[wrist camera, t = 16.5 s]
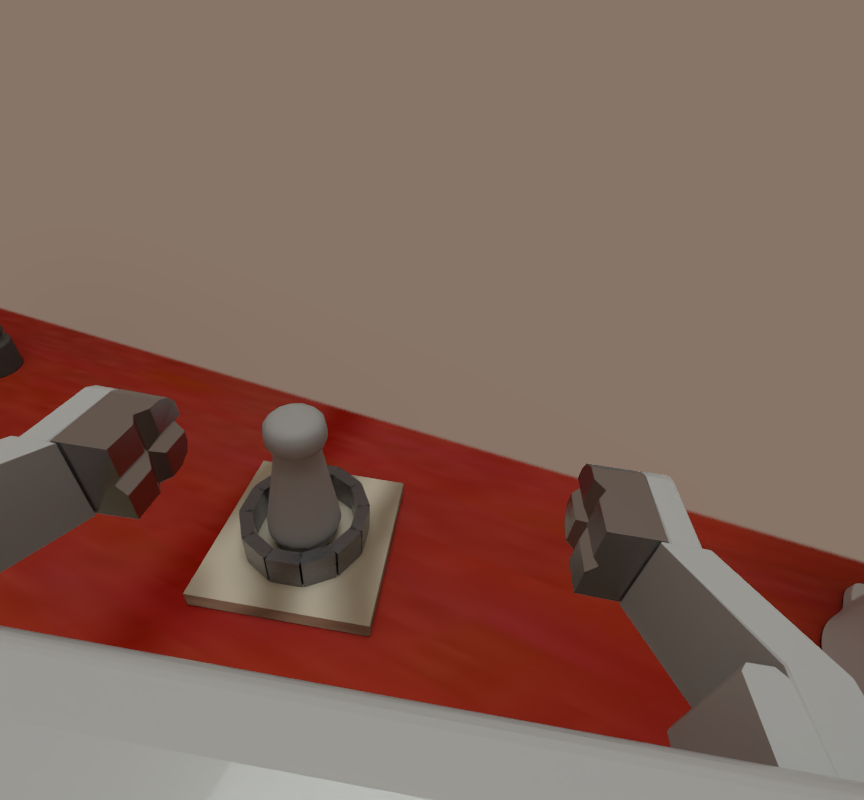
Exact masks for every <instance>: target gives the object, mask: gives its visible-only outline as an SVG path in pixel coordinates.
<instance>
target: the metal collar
mask: <svg viewBox="0 0 864 800" xmlns="http://www.w3.org/2000/svg"><path fill="white" fill-rule="evenodd" d="M327 468H328V471H329V474H330V477H331V480H332V484H333V487H334V490H335V493H336V497H337V499H338V500H339V501H340V502H342V503H343V504H344V505H346V506H347V507H349V508H350V509H351V510H352V513H353V516H354V518H353V521H352V524H351V527H350V528H349V529H348V530H347V531H345V532H344V533H343V534H342V535H341V536H340V537H339V538H337V539H336V540H335V541H334V542H333V543H332V544H330V545H327V546H324V547H320V548H317V549H313V550H310V551H306V552H303V553H299V552H293V551H287V550H281V549H275V548H272V547H271V546H270V545H269V544H268V543H267V542H266V541H265V540H264V539H262V538H261V537H260V536H259V535H258V532H259V530H260V528H261V526H262V524H263V523H264V521H265V519H266V517H267V512H268V502H269V492H270V481H271V475H270V476H269V477H267V478H266V479H264V480H263V481H261V482H259V483H258V484H256V485H255V487H253V488H252V490H251V492H250V493H249V495H248V497H247V498H246V500H245V502H244V503H243V505H242V507H241V508H240V510H239V511H240V512H239V519H240V529H241V538H242V542H243V545H244V549H245V553H246V557H247V561H248V562H249V563H250V564H251V565H252V566H253V567H254V568H255V569H256V570H257V571H258V572H259V573H260V574H261V575H262V576H263V577H264V578H265V579H267V580H268V581H269V580H270V582H273V583H278V584H284V585H290V586H296V587H301V588H302V586H303V584H304V587H307V586H310V585H314V584H317V583H320V582H323V581H327V580H330V579H333V578H336V577H337V575H338V576H340V575H341V574H342V573H343V572H344V571H345V570H346V569H347V568H348V567H349V566H350V565H351V564H352V563H353V562H354V561H355V560H356V559H358V558H359V557H360V556H361V553H363V549H364V546H365V542H366V539H367V535H368V532H369V524H370V504H369V501H368V499H367V496H366V493H365V491H364V488H363V485H362V483H361V482H360V481H359V480H357V479H356V478H354V477H353V476H352V475H350V474H349V473H347V472H346V471H344V470H343V469H342V468H340V469H339V467H335V466H329V465H327Z"/></svg>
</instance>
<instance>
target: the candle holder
mask: <svg viewBox="0 0 864 800" xmlns="http://www.w3.org/2000/svg"><path fill="white" fill-rule="evenodd" d="M2 331H3V327H2V326H1V325H0V378H1V377H4V376H7V375H9V374H11V373H13V372H15V371H16V370H18V369H19V368H20V367H21V366H22V363H23V359H22V357H21V355H20V354H19V352H18V350H17V348H16V346H15V344H14V342H13V341H12V339H11V337H10V336H9V335H8V334H7V333H4V332H2Z"/></svg>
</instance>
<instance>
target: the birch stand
mask: <svg viewBox="0 0 864 800" xmlns="http://www.w3.org/2000/svg"><path fill="white" fill-rule="evenodd" d="M271 471H272V462H268V461H263V463H262V465H261V466H260V468H259V470H258V471H257V473H256V475H255V476H254V478H253V479H252V481H251V483H250V484H249V486H248V488H247V489H246V491H245V493H244V494H243V496H242V498H241V499H240V501H239V502H238V504H237V506H236V507H235V509H234V511H233V512H232V514H231V516H230V517H229V519H228V521H227V522H226V524H225V525H224V527H223V529H222V530H221V532H220V534H219V535H218V537H217V539H216V540H215V542H214V544H213V545H212V547H211V548H210V550H209V552H208V553H207V555H206V557H205V558H204V560H203V562H202V563H201V565H200V567H199V568H198V570H197V572H196V573H195V575H194V576H193V578H192V580H191V581H190V583H189V585H188V586H187V588H186V590H185V591H184V593H183V595H184V597H185V599H186V602H187V604H189V605H194V606H200V607H206V608H211V609H217V610H223V611H228V612H234V613H240V614H245V615H251V616H257V617H262V618H268V619H273V620H279V621H285V622H290V623H296V624H302V625H307V626H313V627H319V628H324V629H330V630H336V631H341V632H347V633H353V634H358V635H364V636H370V632H371V627H372V623H373V619H374V614H375V610H376V606H377V602H378V597H379V593H380V589H381V584H382V580H383V576H384V572H385V567H386V563H387V559H388V554H389V550H390V546H391V541H392V537H393V533H394V529H395V524H396V520H397V516H398V511H399V507H400V503H401V499H402V494H403V483H397V482H391V481H385V480H379V479H373V478H367V477H360V476H354V475H352V476H353V477H354V478H356V479H357V480H359V481H360V482H361V483H362V485H363V488H364V491H365V493H366V496H367V499H368V501H369V504H370V524H369V532H368V535H367V539H366V542H365V546H364V549H363V553H361V556H360V557H359V558H358V559H356V560H355V561H354V562H353V563H352V564H351V565H350V566H349V567H348V568H347V569H346V570H345V571H344V572H343V573H342V574H341V575H340V576H338V575H337V577H336V578H333V579H330V580H327V581H323V582H320V583H317V584H314V585H310V586H307V587H304V584H303V586H302V588H301V587H296V586H290V585H284V584H278V583H273V582H270V580H269V581H268V580H267V579H265V578H264V577H263V576H262V575H261V574H260V573H259V572H258V571H257V570H256V569H255V568H254V567H253V566H252V565H251V564H250V563H249V562H248V561H247V557H246V553H245V549H244V545H243V542H242V538H241V529H240V519H239V512H240V511H239V510H240V508H241V507H242V505H243V503H244V502H245V500H246V498H247V497H248V495H249V493H250V492H251V490H252V488H253V487H255V485H256V484H258V483H259V482H261V481H263V480H264V479H266V478H267V477H269V476H270V475H271ZM337 500H338V499H337ZM338 503H339V507H340V511H341V519H340V523H339V526H338V529H337V532H336V533H335V535H334V536H333V538H332V540H331V541H330V543H328V544H327V545H330V544H332V543H333V542H334V541H335V540H336V539H337V538H339V537H340V536H341V535H342V534H343V533H344V532H345V531H347V530H348V529H349V528H350V527H351V524H352V521H353V518H354V516H353V513H352V510H351V509H350V508H349V507H347V506H346V505H344V504H343V503H342V502H340V501H339V500H338ZM258 535H259V536H260V537H261V538H262V539H264V540H265V541H266V542H267V543H268V544H269V545H270V546H271V547H272V548H275V549H281V550H285V549H284V548H282V547H281V546H279V545H278V543H277V542H276V541H275V540H274V538H273V537H272V536H271V535H270V533H269V530H268V523H267V517H266V519H265V521H264V523H263V524H262V526H261V528H260V530H259V532H258ZM327 545H325V546H327Z"/></svg>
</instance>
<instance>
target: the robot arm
mask: <svg viewBox="0 0 864 800" xmlns="http://www.w3.org/2000/svg"><path fill="white" fill-rule="evenodd" d="M178 416H179V412H178V409H177V407H176V404H175V401H173V400H171V399H169V398H166V397H161V396H155V395H150V394H144V393H139V392H133V391H128V390H122V389H114V388H108V387H103V386H98V385H94V386H90V387H85V388H84V389H83V390H81V391H80V392H79V393H77V394H76V395H75V396H73V397H72V398H71V399H69V400H68V401H67V402H65V403H64V404H63V405H61V406H60V407H59V408H57V409H56V410H55V411H53V412H52V413H51V414H49V415H48V416H47V417H45V418H44V419H43V420H41V421H40V422H39V423H37V424H36V425H35V426H33V427H32V428H31V429H29V430H28V431H27V432H25V433H24V434H23V435H21V436H20V437H15V436H9V437H6V438H3V439H0V573H1V572H2V571H4V570H6V569H7V568H9V567H11V566H12V565H14V564H16V563H17V562H19V561H21V560H22V559H24V558H25V557H27V556H29V555H30V554H32V553H34V552H35V551H37V550H39V549H40V548H42V547H44V546H45V545H47V544H49V543H50V542H52V541H54V540H55V539H57V538H59V537H60V536H62V535H64V534H65V533H67V532H69V531H70V530H72V529H74V528H75V527H77V526H79V525H80V524H82V523H84V522H85V521H87V520H89V519H90V518H92V517H94V516H95V515H96V514H95V513H99V514H106V515H114V516H121V517H128V518H135V519H139V518H140V517H141V516H142V515H143V514H144V512H145V511H146V510H147V509H148V507H149V506H150V505H151V504H152V502H153V501H154V500H155V499H156V498H157V496H158V495H159V494H160V493H161V491H160V483H161V482H163V481H165V480H167V479H169V478H171V477H173V476H174V475H175V474H176V473H177V471H178V470H179V469H180V467H181V466H182V465H183V462H184V459H185V456H186V454H187V437H186V434H185V431H184V430H183V429H182V428H181V427H180V426H179V425H178V424H177V423H176V422H175V420H176V419H177V417H178ZM578 479H579V485H580V489H578V490H576V491H575V492H573V493H571V496H570V499H569V501H568V504H567V508H566V514H565V534H566V541H567V542H568V543H569V544H570V545H571V547H572V548H573V549H574V551H573V553H572V555H571V558H570V560H569V564H570V570H571V577H572V584H573V590H574V593H578V594H583V595H588V596H593V597H598V598H603V599H608V600H613V601H619V602H620V605H621V607H622V608H623V610H624V611H625V613H626V614H627V616H628V617H629V618H630V620H631V621H632V623H633V624H634V626H635V627H636V628H637V630H638V631H639V633H640V634H641V636H642V637H643V638H644V640H645V641H646V643H647V644H648V646H649V647H650V649H651V650H652V651H653V653H654V654H655V656H656V657H657V659H658V660H659V661H660V663H661V664H662V666H663V667H664V669H665V670H666V672H667V673H668V674H669V676H670V677H671V679H672V680H673V682H674V683H675V684H676V686H677V687H678V689H679V690H680V692H681V693H682V695H683V696H684V697H685V699H686V700H687V702H688V703H689V705H690V706H691V707H692V709H690V710H689V711H688V712H687V713H686V714H685V715H683V716H682V717H681V718H680V719H679V720H678V721H676V722H675V723H674V724H673V725H672V726H671V727H670V729H669V730H668V731H667V733H668V737H669V741H670V745H671V747H666V746H660V745H655V744H649V743H644V742H638V741H633V740H627V739H622V738H616V737H611V736H605V735H600V734H594V733H589V732H583V731H578V730H572V729H567V728H561V727H556V726H550V725H545V724H539V723H534V722H528V721H523V720H517V719H512V718H506V717H501V716H495V715H490V714H484V713H479V712H473V711H468V710H462V709H457V708H451V707H446V706H440V705H435V704H429V703H424V702H418V701H413V700H407V699H402V698H396V697H391V696H385V695H380V694H374V693H369V692H363V691H358V690H352V689H347V688H341V687H336V686H330V685H325V684H319V683H314V682H308V681H303V680H297V679H292V678H286V677H281V676H275V675H270V674H264V673H259V672H253V671H248V670H242V669H237V668H231V667H226V666H220V665H215V664H209V663H204V662H198V661H193V660H187V659H181V658H176V657H170V656H165V655H159V654H154V653H148V652H143V651H137V650H132V649H126V648H121V647H115V646H110V645H104V644H99V643H93V642H88V641H82V640H77V639H71V638H66V637H60V636H55V635H49V634H44V633H38V632H33V631H27V630H21V629H16V628H10V627H5V626H0V800H864V584H861V583H856V584H854V585H852V586H850V587H849V588H847V589H846V590H845V592H844V598H843V608H842V610H841V611H840V612H839V613H837V614H836V615H834V616H833V617H832V618H831V619H830V620H829V621H828V622H827V623H826V625H825V627H824V630H823V633H822V650H821V649H820V648H819V647H818V646H817V645H816V644H815V643H813V642H812V641H811V640H810V639H809V638H808V637H807V636H806V635H805V634H803V633H802V632H801V631H800V630H799V629H798V628H797V627H796V626H795V625H793V624H792V623H791V622H790V621H789V620H788V619H787V618H786V617H785V616H783V615H782V614H781V613H780V612H779V611H778V610H777V609H776V608H775V607H773V606H772V605H771V604H770V603H769V602H768V601H767V600H766V599H765V598H763V597H762V596H761V595H760V594H759V593H758V592H757V591H756V590H755V589H753V588H752V587H751V586H750V585H749V584H748V583H747V582H746V581H745V580H743V579H742V578H741V577H740V576H739V575H738V574H737V573H736V572H735V571H733V570H732V569H731V568H730V567H729V566H728V565H727V564H726V563H725V562H723V561H722V560H721V559H720V558H719V557H718V556H717V555H716V554H715V553H713V552H712V551H711V550H706V549H702V547H701V544H700V542H699V540H698V537H697V535H696V533H695V530H694V528H693V526H692V524H691V521H690V519H689V517H688V514H687V512H686V510H685V507H684V505H683V503H682V500H681V498H680V496H679V494H678V492H677V489H676V487H675V484H674V482H673V480H672V479H671V478H670V477H669V476H668V475H662V474H655V473H648V472H637V471H632V470H624V469H618V468H612V467H604V466H598V465H591V464H586V465H585V466H584V467H583V468H582V470H581V473H580V475H579V477H578Z"/></svg>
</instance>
